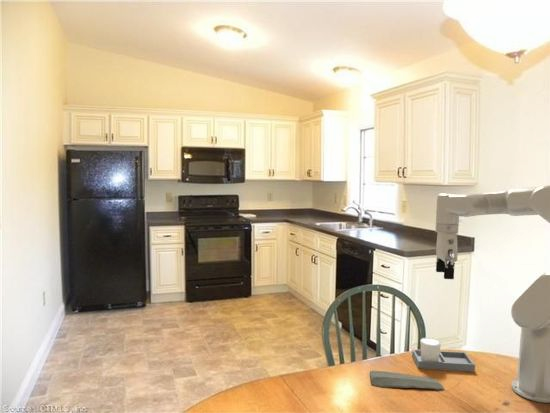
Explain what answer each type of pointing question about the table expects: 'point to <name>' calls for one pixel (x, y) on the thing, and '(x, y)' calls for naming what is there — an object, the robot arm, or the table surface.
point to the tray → (445, 361)
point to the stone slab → (402, 381)
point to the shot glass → (430, 349)
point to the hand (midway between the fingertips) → (444, 275)
